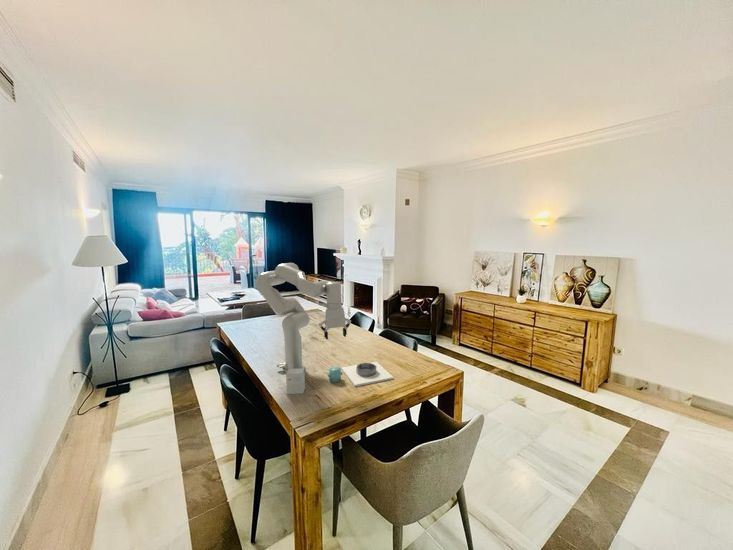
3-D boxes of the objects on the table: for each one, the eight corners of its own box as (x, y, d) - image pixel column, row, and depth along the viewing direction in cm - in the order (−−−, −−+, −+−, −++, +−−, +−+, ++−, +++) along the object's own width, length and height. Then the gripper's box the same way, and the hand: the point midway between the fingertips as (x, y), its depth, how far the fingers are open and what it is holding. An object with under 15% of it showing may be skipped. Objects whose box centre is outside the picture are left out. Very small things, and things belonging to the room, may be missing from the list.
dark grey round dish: (360, 378, 157) (360, 372, 157) (353, 369, 167) (353, 364, 167) (379, 374, 162) (379, 369, 161) (371, 366, 171) (371, 361, 171)
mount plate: (354, 386, 150) (354, 384, 150) (341, 369, 170) (341, 367, 170) (393, 378, 159) (393, 377, 159) (376, 363, 179) (376, 361, 179)
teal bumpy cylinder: (329, 383, 154) (329, 372, 153) (326, 378, 159) (326, 367, 158) (343, 381, 156) (343, 370, 156) (340, 376, 162) (339, 365, 161)
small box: (305, 388, 149) (304, 368, 148) (303, 393, 143) (302, 373, 142) (289, 388, 149) (288, 368, 147) (286, 394, 143) (285, 373, 142)
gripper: (319, 308, 149) (320, 341, 151) (352, 305, 155) (353, 337, 157) (316, 305, 156) (318, 337, 158) (348, 302, 162) (349, 333, 164)
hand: (335, 337), depth 157 cm, fingers open, 9 cm apart
